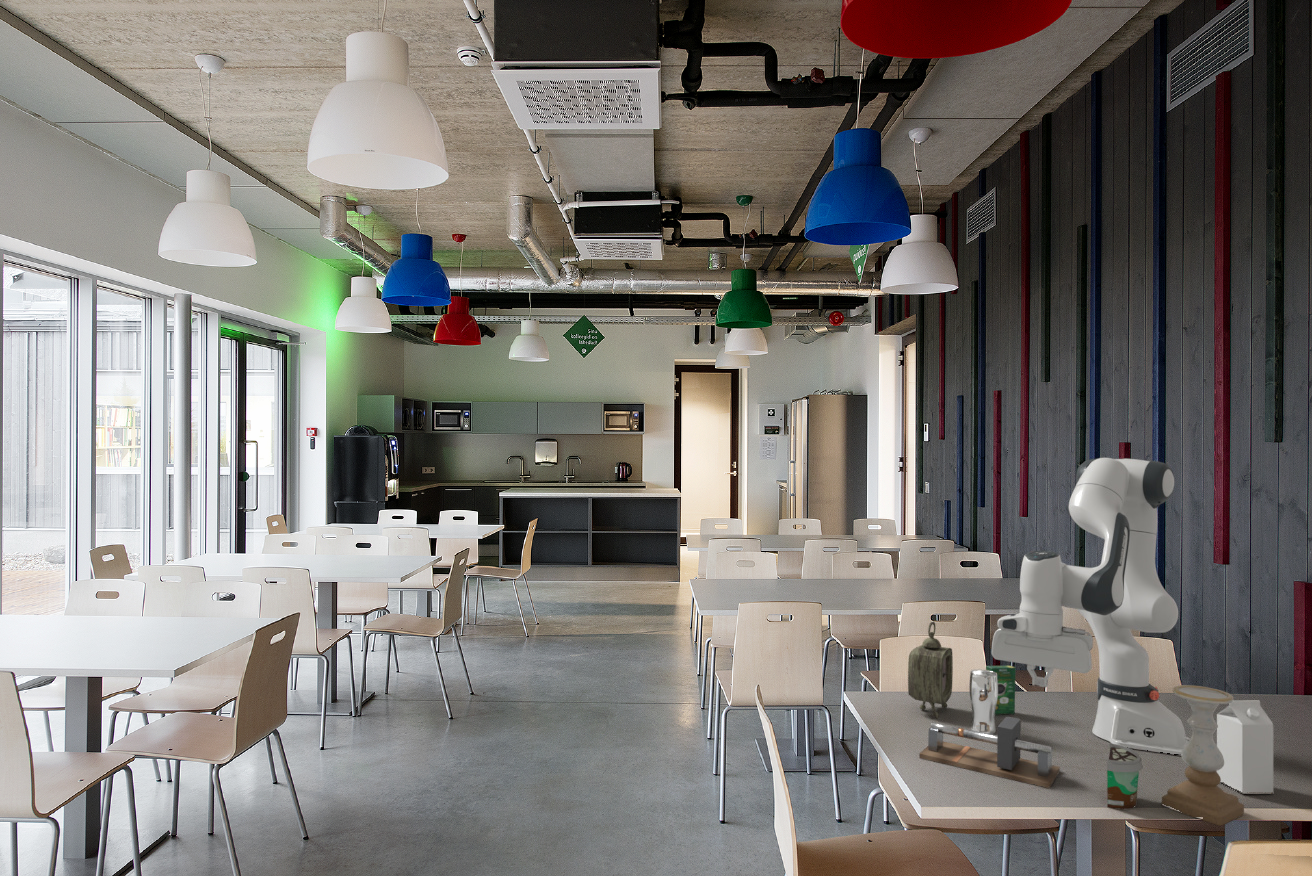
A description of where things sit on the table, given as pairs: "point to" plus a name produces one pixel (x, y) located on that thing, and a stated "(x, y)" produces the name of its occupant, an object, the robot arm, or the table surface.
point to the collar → (1008, 742)
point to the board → (989, 764)
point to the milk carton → (1246, 746)
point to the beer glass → (983, 700)
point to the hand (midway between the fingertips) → (1040, 686)
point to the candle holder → (1203, 762)
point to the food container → (1122, 777)
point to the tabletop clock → (930, 672)
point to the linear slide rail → (1043, 751)
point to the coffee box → (1005, 688)
